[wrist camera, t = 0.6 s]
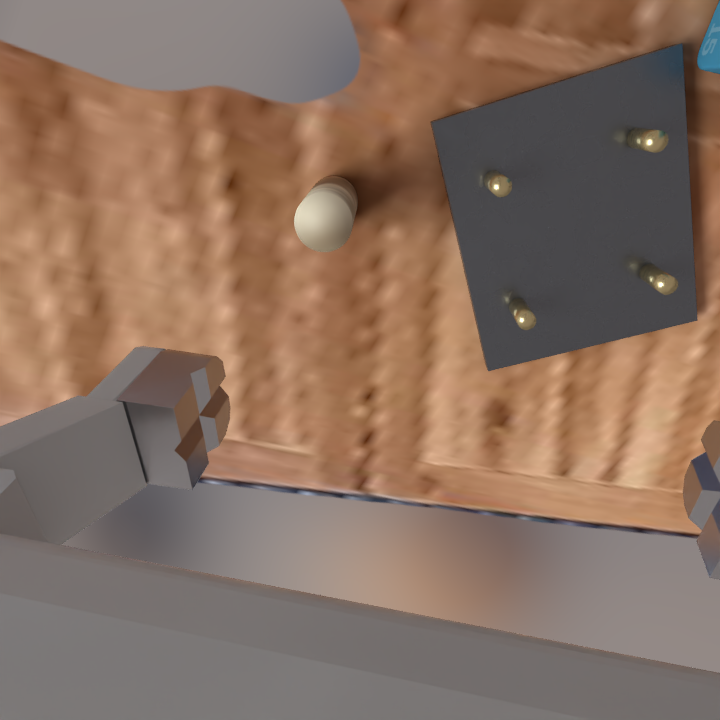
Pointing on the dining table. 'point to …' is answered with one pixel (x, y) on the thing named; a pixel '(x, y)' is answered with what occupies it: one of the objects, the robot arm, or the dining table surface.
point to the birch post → (327, 214)
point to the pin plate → (574, 209)
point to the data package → (711, 46)
